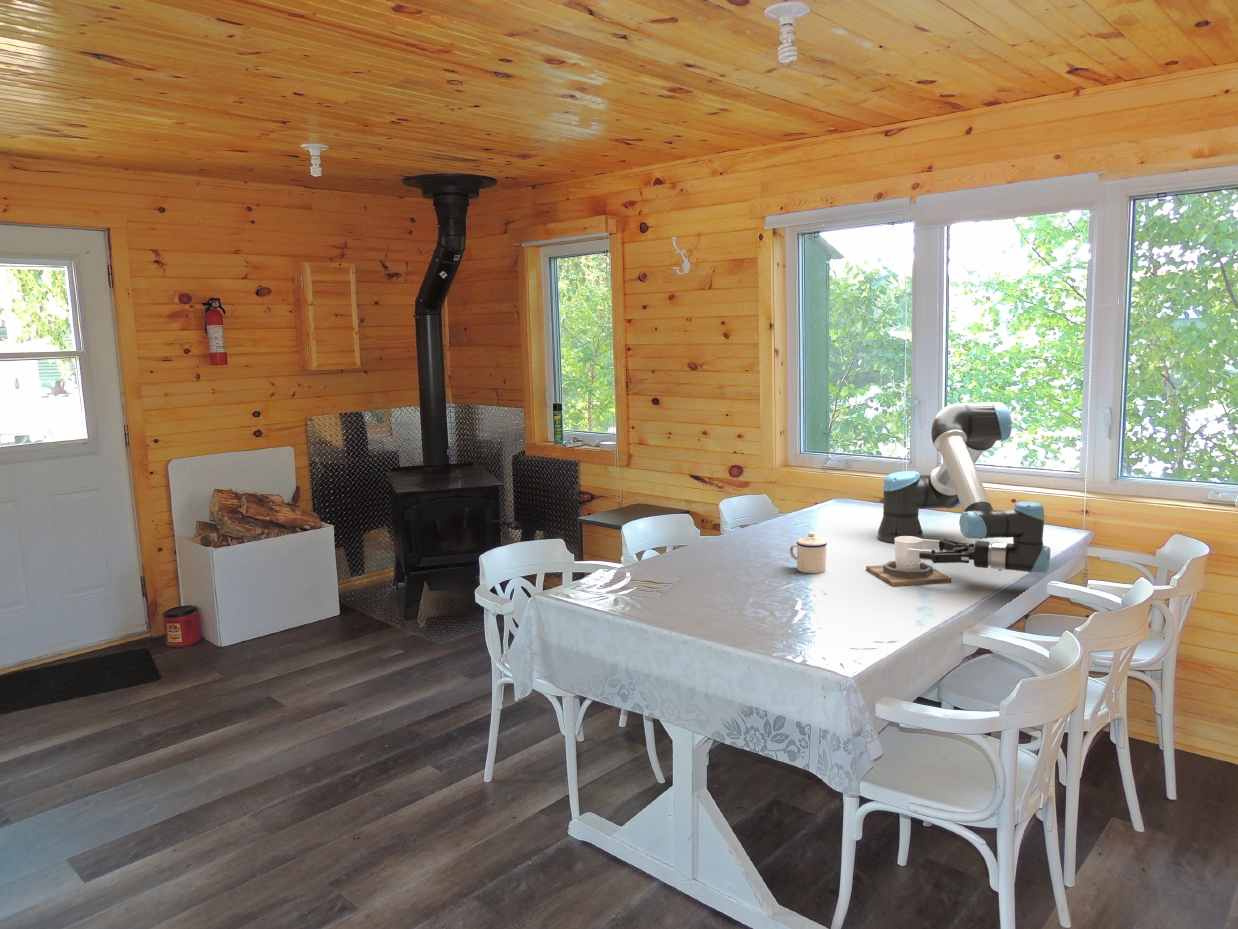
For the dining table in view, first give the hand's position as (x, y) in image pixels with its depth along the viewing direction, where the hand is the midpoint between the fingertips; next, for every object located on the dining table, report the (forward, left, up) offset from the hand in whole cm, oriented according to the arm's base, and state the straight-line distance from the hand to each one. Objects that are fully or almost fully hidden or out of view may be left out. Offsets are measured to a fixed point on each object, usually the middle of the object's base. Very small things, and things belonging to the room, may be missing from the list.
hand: (912, 548), depth 262 cm
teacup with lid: (-15, -27, -9) cm, 32 cm away
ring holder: (-1, -1, -9) cm, 9 cm away
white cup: (-1, -1, -8) cm, 8 cm away
